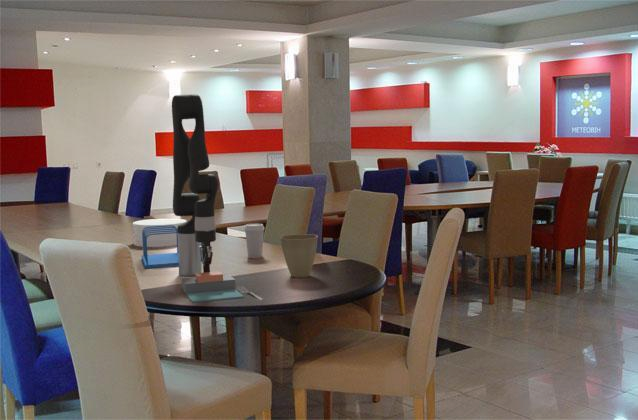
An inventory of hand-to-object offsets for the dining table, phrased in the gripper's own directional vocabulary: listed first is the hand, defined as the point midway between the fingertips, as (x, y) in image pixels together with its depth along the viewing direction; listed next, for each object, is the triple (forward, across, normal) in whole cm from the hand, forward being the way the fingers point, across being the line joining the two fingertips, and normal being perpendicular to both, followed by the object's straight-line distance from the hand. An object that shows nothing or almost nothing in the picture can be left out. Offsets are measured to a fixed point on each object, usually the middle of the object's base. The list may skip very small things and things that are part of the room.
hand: (206, 274), depth 258 cm
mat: (+5, +14, 0) cm, 14 cm away
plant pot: (+5, -8, +39) cm, 40 cm away
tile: (0, +4, 0) cm, 4 cm away
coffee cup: (+5, -58, +34) cm, 67 cm away
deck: (+5, +2, 0) cm, 6 cm away
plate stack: (+5, -121, -1) cm, 121 cm away
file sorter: (+5, -62, -8) cm, 62 cm away
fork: (+6, +18, +13) cm, 23 cm away
